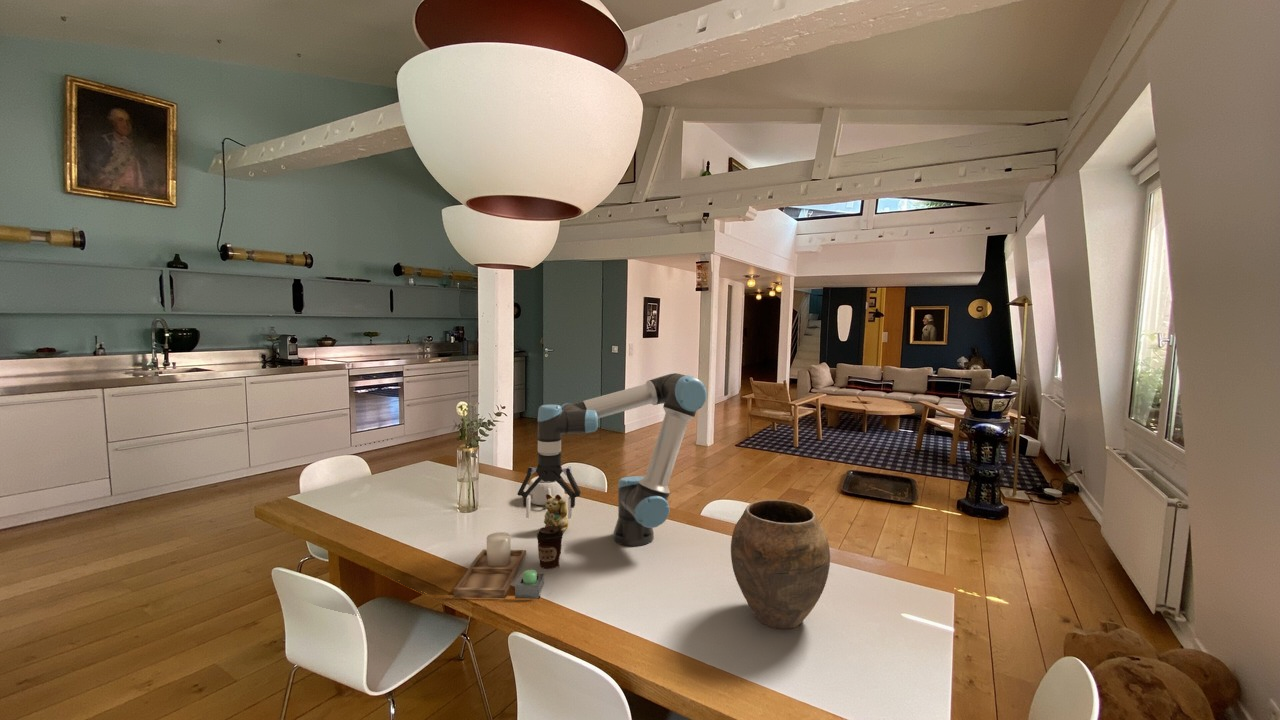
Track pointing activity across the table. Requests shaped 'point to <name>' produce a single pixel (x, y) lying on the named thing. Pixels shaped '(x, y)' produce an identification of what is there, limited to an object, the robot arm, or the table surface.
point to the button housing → (529, 588)
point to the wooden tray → (488, 577)
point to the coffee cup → (549, 546)
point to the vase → (780, 561)
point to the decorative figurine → (556, 512)
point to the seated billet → (498, 549)
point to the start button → (529, 576)
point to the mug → (544, 491)
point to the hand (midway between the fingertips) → (549, 516)
